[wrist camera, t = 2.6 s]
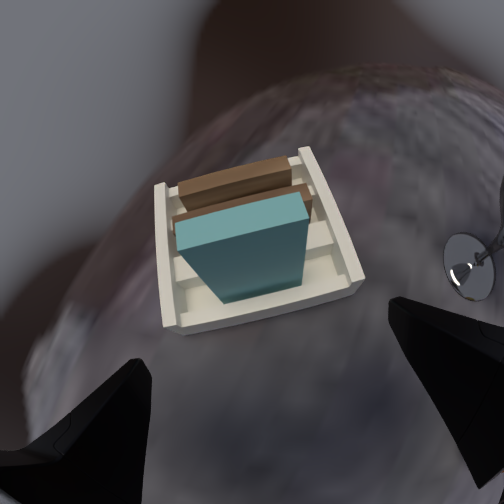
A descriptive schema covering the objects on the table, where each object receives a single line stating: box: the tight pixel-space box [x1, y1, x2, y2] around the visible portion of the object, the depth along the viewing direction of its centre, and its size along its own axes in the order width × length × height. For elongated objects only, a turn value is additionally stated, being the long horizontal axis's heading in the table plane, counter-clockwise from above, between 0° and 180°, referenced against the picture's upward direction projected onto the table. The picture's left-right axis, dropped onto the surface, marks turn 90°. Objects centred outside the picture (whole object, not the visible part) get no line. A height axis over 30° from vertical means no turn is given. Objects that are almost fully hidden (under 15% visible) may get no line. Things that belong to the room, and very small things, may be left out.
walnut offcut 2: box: [172, 183, 313, 237], centre depth 21 cm, size 2×10×4 cm, turn 102°
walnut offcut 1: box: [178, 156, 292, 212], centre depth 23 cm, size 2×9×4 cm, turn 102°
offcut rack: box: [154, 146, 365, 336], centre depth 22 cm, size 12×14×4 cm
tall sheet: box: [175, 192, 309, 304], centre depth 17 cm, size 2×6×10 cm, turn 102°
